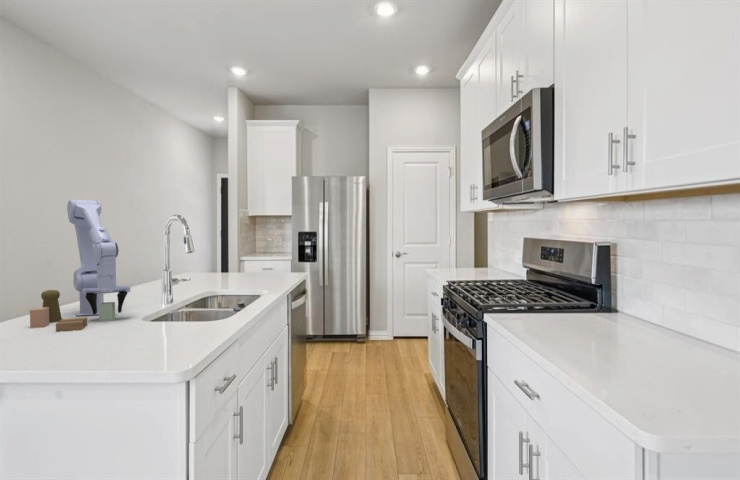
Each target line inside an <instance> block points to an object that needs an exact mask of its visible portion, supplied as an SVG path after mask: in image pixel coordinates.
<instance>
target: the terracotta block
mask: <svg viewBox="0 0 740 480" xmlns="http://www.w3.org/2000/svg"><path fill="white" fill-rule="evenodd" d="M29 324H30V325H29V328H30V329H36V328H37V329H38V328H46V327H48V326H49V325H50V323H49V307H43V306H41V307H34V308H31V309H29Z"/></svg>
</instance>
